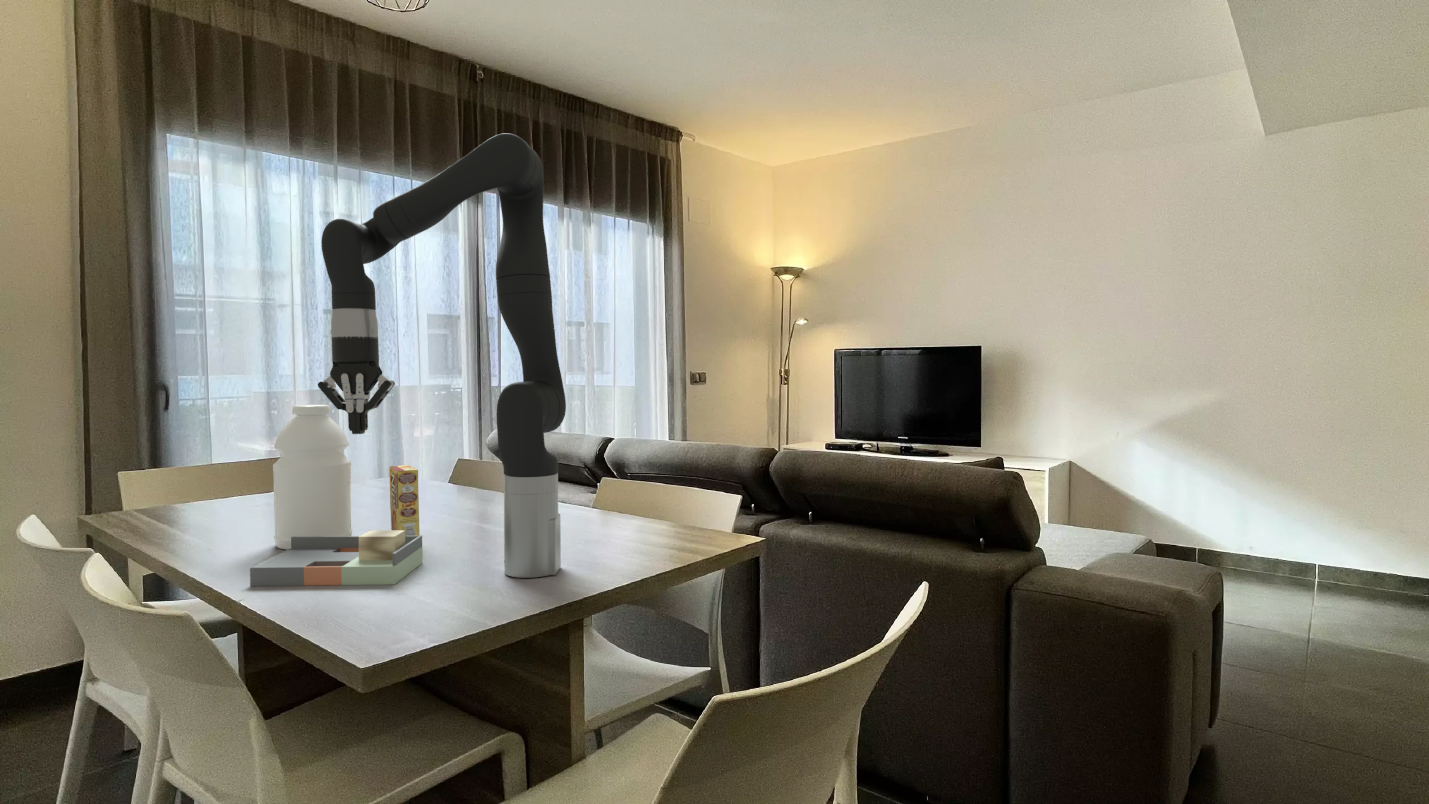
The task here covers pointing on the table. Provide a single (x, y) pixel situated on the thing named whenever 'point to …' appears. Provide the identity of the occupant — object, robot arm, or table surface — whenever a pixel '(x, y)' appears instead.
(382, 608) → the table surface
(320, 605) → the table surface
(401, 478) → the candy box
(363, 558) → the birch block
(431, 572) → the table surface
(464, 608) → the table surface
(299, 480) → the bottle
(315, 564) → the box
